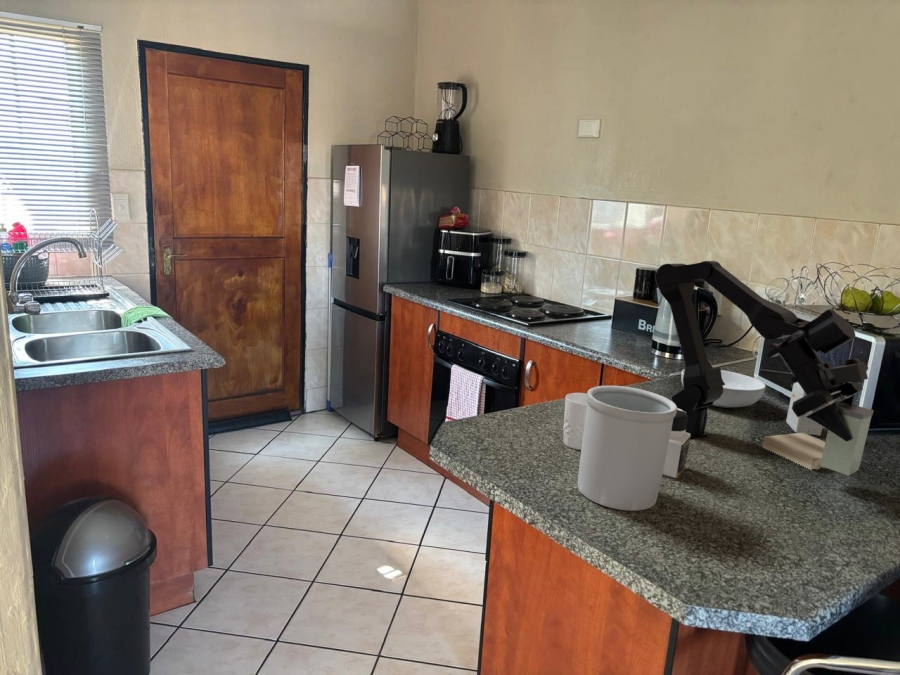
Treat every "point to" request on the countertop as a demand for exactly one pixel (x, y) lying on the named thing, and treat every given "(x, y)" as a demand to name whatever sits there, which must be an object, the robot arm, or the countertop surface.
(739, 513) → the countertop surface
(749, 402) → the serving bowl
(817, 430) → the small box
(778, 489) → the countertop surface
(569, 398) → the white cup
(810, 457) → the wooden block
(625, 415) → the utensil holder
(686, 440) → the medicine bottle
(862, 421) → the tea tin
